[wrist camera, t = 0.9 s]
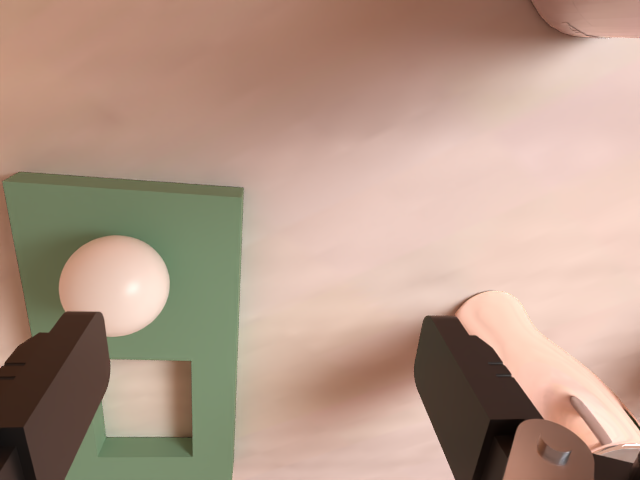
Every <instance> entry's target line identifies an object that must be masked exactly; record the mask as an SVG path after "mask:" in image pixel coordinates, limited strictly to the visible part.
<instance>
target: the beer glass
mask: <svg viewBox="0 0 640 480" xmlns="http://www.w3.org/2000/svg"><path fill="white" fill-rule="evenodd" d="M454 316H456V317H457V318H458V319H459V321H460V322H461V324H462V325H463V327H464V328H465V330H466V331H467V333H468V334H469V335H476V336H478V337H479V338H480V339H482V340H483V341H484V342H486V343H487V344H488V345H490V346H491V347H492V348H493V349H494V350H495V352H496V353H497V355H498V356H499V357H500V359H501V360H502V361H503V365H505V366H506V367H507V368H508V370H509V371H510V373H511V374H512V377H514V378H515V380H516V381H517V382H518V384H519V385H520V386H521V388H522V389H523V391H524V392H525V393H526V395H527V396H528V398H529V399H530V400H531V402H532V403H533V405H534V406H535V407H536V409H537V410H538V411H539V413H540V414H541V416H542V417H543V418H544V420H548V421H552V422H555V423H557V424H560V425H562V426H564V427H566V428H567V429H569V430H571V431H572V432H573V433H575V434H576V435H577V436H578V437H580V438H581V439H582V440H583V441H584V442H585V443H586V445H587V446H588V447H589V449H590V450H591V452H592V453H594V454H597V455H601V456H606V457H610V458H614V459H618V460H622V461H626V462H631V463H634V462H635V460H636V458H637V456H638V454H639V452H640V423H639V422H638V420H637V419H636V418H635V417H634V416H633V414H632V413H631V412H630V411H629V410H628V408H627V407H626V406H625V405H624V404H623V403H622V402H621V400H620V399H619V398H618V397H617V396H616V395H615V394H614V393H613V392H612V391H611V390H610V389H609V388H608V387H607V386H606V385H605V384H604V383H603V382H602V381H601V380H600V379H599V378H598V377H597V376H596V375H595V374H594V373H593V372H591V371H590V370H589V369H588V368H586V367H585V366H584V365H583V364H582V363H580V362H579V361H578V360H576V359H575V358H574V357H572V356H571V355H570V354H568V353H567V352H566V351H564V350H563V349H562V348H560V347H559V346H557V345H556V344H555V343H553V342H552V341H551V340H549V339H548V338H547V337H545V336H544V335H543V334H542V333H540V332H539V331H538V330H537V329H536V327H535V326H534V325H533V323H532V322H531V320H530V319H529V317H528V315H527V313H526V311H525V309H524V307H523V306H522V304H521V303H520V301H519V300H518V299H517V298H515V297H514V296H513V295H511V294H509V293H506V292H503V291H487V292H483V293H480V294H477V295H475V296H473V297H471V298H470V299H468V300H467V301H466V302H464V303H463V304H462V305H461V306H460V307H459V309H458V310H457V311H456V313H455V315H454Z"/></svg>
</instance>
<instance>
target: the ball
mask: <svg viewBox="0 0 640 480" xmlns="http://www.w3.org/2000/svg"><path fill="white" fill-rule="evenodd" d="M169 289H170V279H169V274H168V270H167V267H166V265H165V262H164V261H163V259H162V258H161V256H160V255H159V254H158V253H157V252H156V251H155V250H154V249H153V248H152V247H151V246H150V245H148V244H146V243H145V242H143V241H141V240H139V239H136V238H133V237H129V236H121V235H111V236H105V237H101V238H97V239H94V240H92V241H90V242H88V243H86V244H84V245H83V246H81V247H80V248H79V249H77V250H76V251H75V252H74V253H73V254H72V255H71V256H70V258H69V259H68V261H67V262H66V264H65V266H64V268H63V270H62V272H61V276H60V280H59V296H60V301H61V304H62V306H63V308H64V310H65V312H66V311H92V312H101V313H102V314H103V317H104V321H105V329H106V336H107V337H118V336H125V335H129V334H132V333H135V332H137V331H139V330H141V329H143V328H144V327H146V326H147V325H149V324H150V323H151V322H152V321H153V320H154V319H155V318H156V317H157V316H158V315H159V314H160V312H161V311H162V309H163V307H164V306H165V304H166V301H167V298H168V295H169Z"/></svg>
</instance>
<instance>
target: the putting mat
mask: <svg viewBox="0 0 640 480" xmlns="http://www.w3.org/2000/svg"><path fill="white" fill-rule="evenodd" d="M2 182H3V188H4V193H5V198H6V203H7V209H8V214H9V219H10V224H11V230H12V235H13V240H14V245H15V251H16V256H17V261H18V266H19V272H20V277H21V282H22V288H23V293H24V298H25V303H26V309H27V314H28V319H29V324H30V330H31V335H32V337H33V336H34V335H36V334H37V333H39V332H50V330H51V329H52V328H53V326H54V325H55V324H56V322H57V321H58V320H59V318H60V317H61V316H62V315H63V313H65V310H64V308H63V306H62V304H61V301H60V296H59V280H60V276H61V272H62V270H63V268H64V266H65V264H66V262H67V261H68V259H69V258H70V256H71V255H72V254H73V253H74V252H75V251H76V250H77V249H79V248H80V247H81V246H83V245H84V244H86V243H88V242H90V241H92V240H94V239H97V238H101V237H105V236H111V235H121V236H129V237H133V238H136V239H139V240H141V241H143V242H145V243H146V244H148V245H150V246H151V247H152V248H153V249H154V250H155V251H156V252H157V253H158V254H159V255H160V256H161V258H162V259H163V261H164V262H165V265H166V267H167V270H168V274H169V279H170V289H169V295H168V298H167V301H166V304H165V306H164V307H163V309H162V311H161V312H160V314H159V315H158V316H157V317H156V318H155V319H154V320H153V321H152V322H151V323H150V324H149V325H147V326H146V327H144V328H143V329H141V330H139V331H137V332H135V333H132V334H129V335H125V336H118V337H107V344H108V351H109V358H110V359H130V360H174V361H191V371H192V438H189V437H106V433H105V425H104V417H103V409H102V401H101V403H100V405H99V407H98V409H97V411H96V413H95V415H94V418H93V420H92V422H91V424H90V426H89V428H88V431H87V433H86V435H85V437H84V439H83V441H82V443H81V446H80V448H79V450H78V452H77V454H76V456H75V458H74V461H73V463H72V465H71V467H70V469H69V471H68V473H67V476H66V478H65V480H232V473H233V462H234V436H235V409H236V382H237V355H238V328H239V301H240V274H241V247H242V220H243V193H244V188H240V187H226V186H212V185H197V184H183V183H169V182H155V181H141V180H127V179H113V178H99V177H85V176H70V175H56V174H42V173H28V172H18V173H17V174H15V175H13V176H11V177H9V178H8V179H6V180H4V181H2Z"/></svg>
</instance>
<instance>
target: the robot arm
mask: <svg viewBox="0 0 640 480" xmlns="http://www.w3.org/2000/svg"><path fill="white" fill-rule="evenodd" d="M532 3H533V4H534V6H535V8H536V10H537V11H538V13H539V15H540V16H541V17H542V18H543V19H544V20H545V21H546V22H547V23H548V24H549V25H550V26H551V27H553V28H555V29H556V30H558V31H560V32H562V33H565V34H568V35H572V36H577V37H593V38H610V37H625V38H640V0H532ZM414 377H415V383H416V387H417V390H418V392H419V394H420V397H421V399H422V402H423V404H424V406H425V409H426V411H427V413H428V416H429V418H430V421H431V423H432V425H433V428H434V430H435V433H436V435H437V437H438V440H439V442H440V444H441V447H442V449H443V452H444V454H445V456H446V459H447V461H448V463H449V466H450V468H451V471H452V473H453V475H454V478H455V480H640V452H639V454H638V456H637V458H636V460H635V462H634V463H631V462H626V461H622V460H618V459H614V458H610V457H606V456H601V455H597V454H594V453H592V452H591V450H590V449H589V447H588V446H587V445H586V443H585V442H584V441H583V440H582V439H581V438H580V437H578V436H577V435H576V434H575V433H573V432H572V431H571V430H569V429H567V428H566V427H564V426H562V425H560V424H557V423H555V422H552V421H548V420H544V418H543V417H542V416H541V414H540V413H539V411H538V410H537V409H536V407H535V406H534V405H533V403H532V402H531V400H530V399H529V398H528V396H527V395H526V393H525V392H524V391H523V389H522V388H521V386H520V385H519V384H518V382H517V381H516V380H515V378H514V377H512V374H511V373H510V371H509V370H508V368H507V367H506V366H505V365H503V361H502V360H501V359H500V357H499V356H498V355H497V353H496V352H495V350H494V349H493V348H492V347H491V346H490V345H488V344H487V343H486V342H484V341H483V340H482V339H480V338H479V337H478V336H476V335H469V334H468V333H467V331H466V330H465V328H464V327H463V325H462V324H461V322H460V321H459V319H458V318H457V317H456V316H426V317H425V318H424V320H423V324H422V329H421V334H420V339H419V344H418V349H417V354H416V359H415V364H414ZM109 378H110V358H109V351H108V344H107V336H106V329H105V321H104V317H103V314H102V313H101V312H92V311H66V312H65V313H63V315H62V316H61V317H60V318H59V320H58V321H57V322H56V324H55V325H54V326H53V328H52V329H51V330H50V332H39V333H37V334H36V335H34V336H33V337H31V338H30V339H28V340H27V341H25V342H24V343H22V344H21V345H19V346H18V347H17V348H16V349H15V351H14V352H13V353H12V354H11V356H10V357H9V358H8V359H7V360H6V362H5V365H4V366H2V367H1V368H0V480H65V478H66V476H67V473H68V471H69V469H70V467H71V465H72V463H73V461H74V458H75V456H76V454H77V452H78V450H79V448H80V446H81V443H82V441H83V439H84V437H85V435H86V433H87V431H88V428H89V426H90V424H91V422H92V420H93V418H94V415H95V413H96V411H97V409H98V407H99V405H100V403H101V400H102V398H103V396H104V394H105V392H106V389H107V387H108V383H109Z"/></svg>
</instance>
